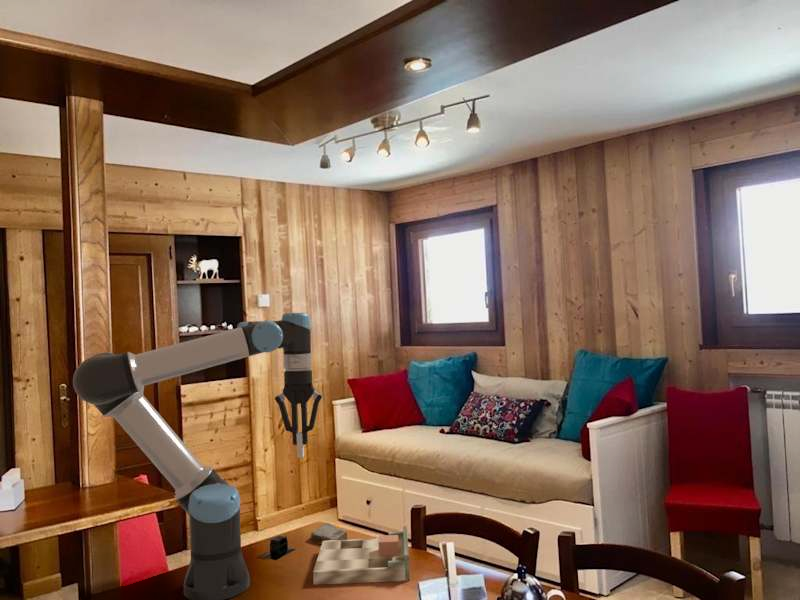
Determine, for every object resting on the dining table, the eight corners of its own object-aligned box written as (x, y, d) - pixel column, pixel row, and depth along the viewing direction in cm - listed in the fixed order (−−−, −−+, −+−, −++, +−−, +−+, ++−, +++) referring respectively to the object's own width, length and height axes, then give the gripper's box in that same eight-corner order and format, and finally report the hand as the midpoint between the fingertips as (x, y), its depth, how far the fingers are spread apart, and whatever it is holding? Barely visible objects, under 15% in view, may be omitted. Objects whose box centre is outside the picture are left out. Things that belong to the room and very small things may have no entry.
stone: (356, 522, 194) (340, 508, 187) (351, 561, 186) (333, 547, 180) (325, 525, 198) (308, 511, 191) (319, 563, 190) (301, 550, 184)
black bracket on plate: (275, 564, 172) (274, 547, 172) (253, 560, 175) (252, 543, 175) (303, 549, 183) (302, 532, 183) (282, 545, 186) (281, 529, 186)
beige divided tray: (313, 584, 156) (312, 559, 157) (323, 551, 178) (322, 529, 179) (409, 580, 157) (408, 555, 157) (407, 548, 179) (406, 526, 179)
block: (379, 556, 165) (378, 542, 165) (379, 549, 170) (378, 535, 170) (398, 555, 165) (398, 541, 165) (398, 548, 170) (398, 534, 170)
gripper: (271, 371, 174) (274, 460, 173) (320, 369, 174) (323, 458, 173) (276, 369, 181) (279, 454, 181) (323, 367, 182) (326, 453, 181)
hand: (300, 456), depth 177 cm, fingers closed
